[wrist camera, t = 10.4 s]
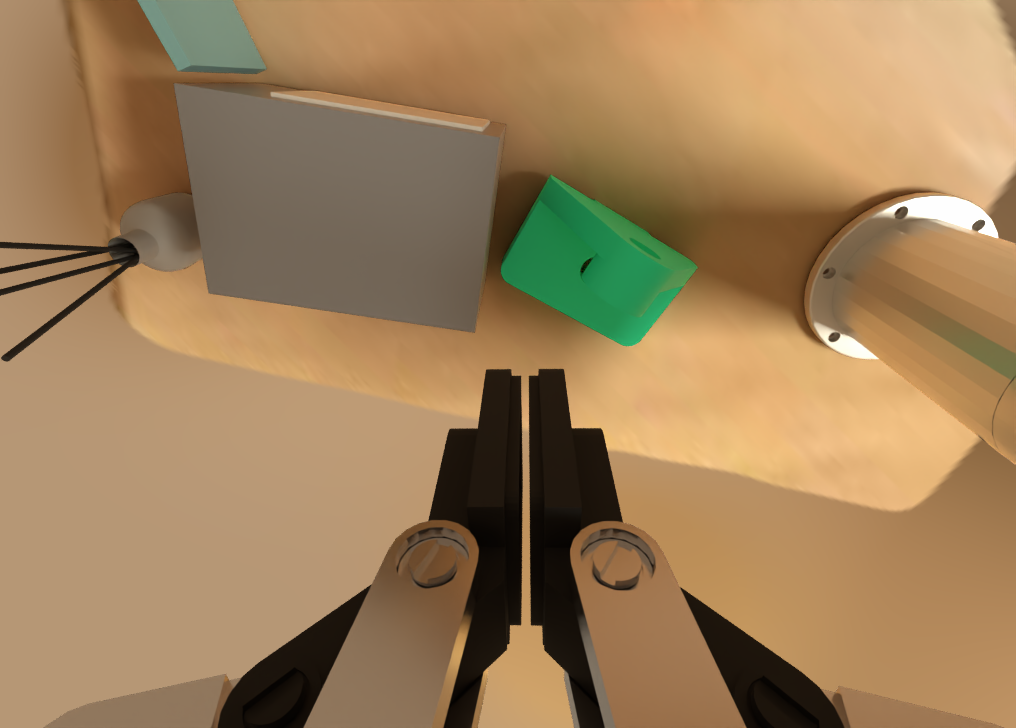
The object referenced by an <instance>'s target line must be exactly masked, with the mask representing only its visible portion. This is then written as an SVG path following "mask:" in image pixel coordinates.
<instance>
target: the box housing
mask: <svg viewBox="0 0 1016 728" xmlns="http://www.w3.org/2000/svg"><path fill="white" fill-rule="evenodd" d="M174 89H175V95H176V101H177V107H178V113H179V119H180V125H181V131H182V137H183V143H184V149H185V155H186V161H187V167H188V173H189V179H190V184H191V190H192V196H193V202H194V208H195V214H196V220H197V226H198V232H199V238H200V244H201V250H202V256H203V262H204V268H205V274H206V280H207V286H208V292H209V293H210V294H216V295H223V296H230V297H237V298H243V299H250V300H257V301H264V302H270V303H277V304H284V305H291V306H298V307H304V308H311V309H318V310H325V311H331V312H338V313H345V314H352V315H358V316H365V317H372V318H379V319H385V320H392V321H399V322H406V323H412V324H419V325H426V326H433V327H440V328H446V329H453V330H460V331H467V332H473V333H475V329H476V324H477V319H478V315H479V310H480V305H481V300H482V295H483V290H484V286H485V281H486V273H487V265H488V258H489V250H490V243H491V235H492V228H493V220H494V213H495V205H496V197H497V190H498V182H499V175H500V167H501V160H502V152H503V145H504V137H505V129H506V124H501V123H495V122H490V120H487V119H481V118H475V117H469V116H463V115H457V114H452V113H446V112H440V111H434V110H428V109H422V108H416V107H410V106H404V105H398V104H392V103H386V102H380V101H374V100H368V99H362V98H356V97H350V96H344V95H338V94H332V93H327V92H321V91H315V90H313V91H304V90H298V89H292V88H287V87H281V86H275V85H269V84H263V83H174Z"/></svg>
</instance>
